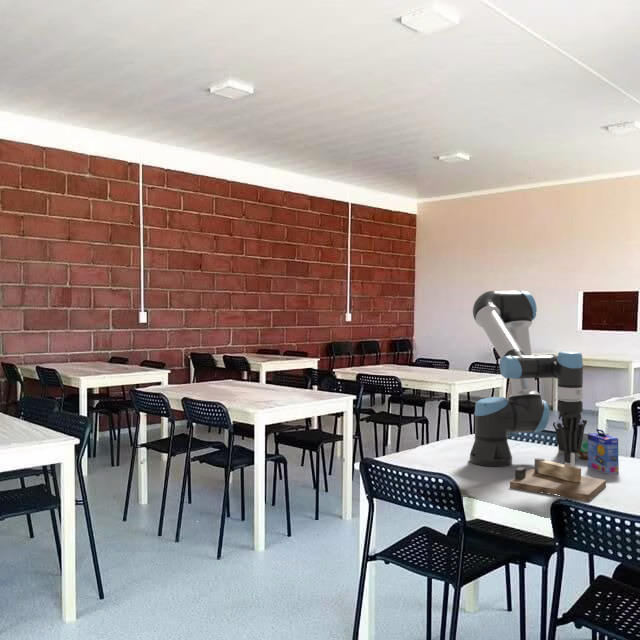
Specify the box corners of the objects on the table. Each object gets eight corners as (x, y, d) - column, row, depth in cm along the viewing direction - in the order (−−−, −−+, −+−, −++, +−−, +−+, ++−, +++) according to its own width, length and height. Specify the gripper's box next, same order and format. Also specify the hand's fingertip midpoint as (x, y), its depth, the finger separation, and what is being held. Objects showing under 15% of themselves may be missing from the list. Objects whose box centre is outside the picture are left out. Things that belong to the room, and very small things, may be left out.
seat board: (509, 487, 210) (509, 472, 210) (531, 474, 226) (531, 459, 226) (588, 501, 196) (588, 484, 196) (605, 486, 212) (606, 470, 212)
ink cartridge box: (586, 467, 235) (586, 427, 235) (599, 466, 237) (600, 426, 237) (605, 474, 226) (606, 432, 226) (619, 473, 228) (619, 431, 227)
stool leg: (532, 472, 221) (532, 459, 221) (538, 470, 223) (538, 457, 223) (575, 483, 208) (575, 469, 208) (581, 481, 210) (581, 467, 210)
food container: (574, 460, 245) (574, 433, 245) (574, 456, 251) (574, 430, 251) (610, 463, 241) (610, 436, 241) (609, 459, 247) (609, 432, 246)
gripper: (564, 403, 207) (564, 477, 208) (593, 399, 213) (593, 472, 213) (546, 399, 213) (546, 472, 214) (575, 396, 219) (575, 467, 220)
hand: (569, 472), depth 214 cm, fingers closed
